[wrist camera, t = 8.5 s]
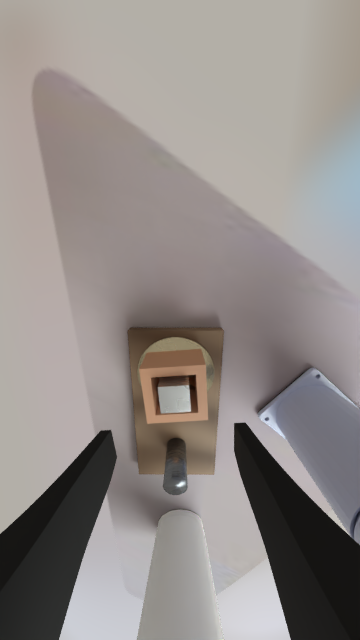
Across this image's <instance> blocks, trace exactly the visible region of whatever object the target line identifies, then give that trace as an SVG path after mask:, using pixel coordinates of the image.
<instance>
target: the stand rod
mask: <svg viewBox="0 0 360 640" xmlns="http://www.w3.org/2000/svg"><path fill="white" fill-rule="evenodd" d="M163 488H164V490H165V491H166V492H167V493H169V494H172V495H179V494H182V493H184V492H185V491H186V490H187V458H186V443H185V441H184V440H183V439H181V438H172V439H170V440H169V441H168V442H167V447H166V459H165V471H164V483H163Z"/></svg>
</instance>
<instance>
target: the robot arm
mask: <svg viewBox="0 0 360 640" xmlns="http://www.w3.org/2000/svg"><path fill="white" fill-rule="evenodd" d="M316 375H317V376H316ZM258 417H259V418H260V419H261V420H262V421H263V422H265V423H266V424H267V425H268V426H270V427H271V428H272V429H273V430H275V431H276V432H277V433H278V434H280V435H281V436H282V437H283V438H285V439H286V440H287V441H288V443H289V444H290V446H291V447H292V449H293V450H294V452H295V453H296V455H297V456H298V458H299V459H300V461H301V462H302V464H303V465H304V467H305V468H306V470H307V471H308V473H309V474H310V476H311V477H312V479H313V480H314V482H315V483H316V485H317V486H318V488H319V489H320V491H321V492H322V494H323V495H324V497H325V498H326V500H327V502H328V503H329V505H330V506H331V508H332V509H333V511H334V512H335V514H336V515H337V517H338V518H339V520H340V521H341V523H342V524H343V526H344V527H345V529H346V530H347V532H348V533H349V535H350V536H351V537H350V536H349V535H348V534H347V533H346V532H345V531H344V530H343V529H342V528H340V527H339V526H338V525H337V524H336V523H335V522H334V521H333V520H332V519H331V518H330V517H329V516H328V515H327V514H326V513H325V512H324V511H323V510H322V509H321V508H320V507H319V506H318V505H317V504H316V503H315V502H314V501H313V500H312V499H311V498H310V497H309V496H308V495H307V494H306V493H305V492H304V491H303V490H302V489H301V488H300V487H299V486H298V485H297V484H296V483H295V482H294V480H293V479H292V478H291V477H290V476H289V475H288V474H287V473H286V472H285V471H284V469H283V468H282V467H281V466H280V465H279V464H278V463H277V461H276V460H275V459H274V458H273V457H272V456H271V454H270V453H269V452H268V451H267V450H266V448H265V447H264V446H263V445H262V443H261V442H260V441H259V440H258V438H257V437H256V436H255V434H254V433H253V432H252V431H251V429H250V428H249V426H248V425H247V424H246V423H234V452H235V456H236V460H237V464H238V468H239V472H240V475H241V478H242V481H243V484H244V487H245V490H246V493H247V496H248V498H249V501H250V504H251V507H252V510H253V513H254V516H255V519H256V521H257V524H258V527H259V530H260V533H261V536H262V539H263V542H264V545H265V548H266V552H267V555H268V559H269V562H270V566H271V569H272V573H273V576H274V580H275V583H276V587H277V591H278V594H279V598H280V602H281V605H282V609H283V612H284V616H285V620H286V623H287V626H288V631H289V634H290V638H291V640H360V409H359V408H358V407H357V406H356V405H355V404H354V403H353V402H352V401H351V400H350V399H349V398H348V397H346V396H345V395H344V394H343V393H342V392H341V391H340V390H339V389H338V388H337V387H336V386H335V385H334V384H333V383H331V382H330V381H329V380H328V379H327V378H326V377H325V376H324V375H323V374H322V373H321V372H320V371H319V370H317V369H316V368H310V369H309V370H307V371H306V372H305V373H304V374H303V375H302V376H300V377H299V378H298V379H297V380H296V381H295V382H293V383H292V384H291V385H290V386H289V387H288V388H286V389H285V390H284V391H283V392H282V393H281V394H279V395H278V396H277V397H276V398H275V399H273V400H272V401H271V402H270V403H269V404H268V405H266V406H265V407H264V408H263V409H262V410H261V411H259V413H258ZM266 417H267V418H266ZM116 459H117V455H116V451H115V446H114V442H113V437H112V432H111V430H105V431H100V432H99V433H98V434H97V436H96V437H95V438H94V439H93V440H92V441H91V442H90V443H89V445H88V446H87V447H86V448H85V449H84V450H83V451H82V452H81V454H80V455H79V456H78V457H77V458H76V459H75V460H74V461H73V463H72V464H71V465H70V466H69V467H68V468H67V469H66V470H65V471H64V472H63V473H62V475H61V476H60V477H59V478H58V479H57V480H56V481H55V482H54V483H53V484H52V485H51V486H50V487H49V488H48V489H47V490H46V491H45V492H44V493H43V494H42V495H41V496H40V497H39V498H38V499H37V500H36V501H35V502H34V503H33V504H32V505H31V506H30V507H29V508H28V509H27V510H26V511H25V512H24V513H23V514H22V515H21V516H20V517H18V518H17V519H16V520H15V521H14V522H13V523H12V524H11V525H10V526H9V527H8V528H7V529H6V530H4V531H3V532H2V533H1V534H0V640H59V637H60V634H61V630H62V627H63V623H64V620H65V616H66V613H67V609H68V606H69V602H70V599H71V595H72V592H73V588H74V585H75V582H76V579H77V575H78V572H79V569H80V565H81V562H82V559H83V556H84V553H85V550H86V547H87V544H88V541H89V538H90V536H91V533H92V530H93V527H94V525H95V522H96V519H97V517H98V514H99V511H100V509H101V506H102V503H103V500H104V498H105V495H106V492H107V489H108V487H109V484H110V481H111V478H112V474H113V470H114V466H115V463H116Z"/></svg>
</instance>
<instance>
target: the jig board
mask: <svg viewBox="0 0 360 640" xmlns="http://www.w3.org/2000/svg"><path fill="white" fill-rule="evenodd" d="M168 337H184V338H188V339H190V340H193V341H195V342H197V343H198V344H200V345H201V346H202V347H203V348H204V349H205V350H206V351H207V352H208V353H209V355H210V357H211V359H212V361H213V365H214V380H213V383H212V385H211V387H210V389H209V390H208V392H207V403H208V420H202V421H186V422H169V423H152V424H147V419H146V412H145V405H144V399H143V392H142V387H141V385H140V383H139V380H138V373H137V370H138V364H139V361H140V358H141V356H142V354H143V353H144V352H145V350H146V349H147V348H148V347H149V346H150V345H152V344H153V343H155V342H156V341H158V340H161V339H164V338H168ZM223 337H224V330H223V329H222V328H130V329H129V330H128V341H129V354H130V367H131V379H132V392H133V405H134V418H135V430H136V443H137V456H138V468H139V474H164V471H165V459H166V447H167V442H168V441H169V440H170V439H172V438H181V439H183V440H184V441H185V443H186V458H187V474H209V475H214V469H215V454H216V440H217V425H218V410H219V396H220V381H221V366H222V351H223Z"/></svg>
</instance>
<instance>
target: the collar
mask: <svg viewBox="0 0 360 640" xmlns="http://www.w3.org/2000/svg"><path fill="white" fill-rule="evenodd" d="M139 372H140V379H141V386H142V392H143V399H144V405H145V412H146V419H147V424H152V423H169V422H186V421H202V420H208V403H207V379H206V363H205V360H204V357H203V353H202V350H201V349H191V350H176V351H162V352H147V353H146V355H145V357H144V359H143V362H142V364H141V366H140V368H139ZM182 375H194V378H195V390H190V404H191V412H178V413H161V410H160V402H159V394H158V383H159V381H158V377H167V376H182Z"/></svg>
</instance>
